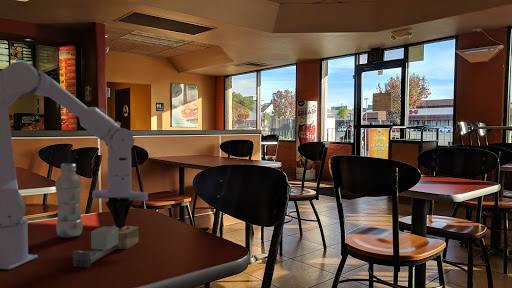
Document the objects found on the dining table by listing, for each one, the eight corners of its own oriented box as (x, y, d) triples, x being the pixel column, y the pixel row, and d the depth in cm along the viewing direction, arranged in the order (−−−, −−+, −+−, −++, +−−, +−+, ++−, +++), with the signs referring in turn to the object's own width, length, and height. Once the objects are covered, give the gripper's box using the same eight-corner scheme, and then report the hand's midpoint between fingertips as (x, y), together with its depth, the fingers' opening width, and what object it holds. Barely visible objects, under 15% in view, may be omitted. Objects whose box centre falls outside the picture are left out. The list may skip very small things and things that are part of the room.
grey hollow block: (101, 247, 96) (101, 231, 96) (114, 240, 102) (114, 225, 102) (126, 249, 95) (126, 233, 95) (138, 241, 101) (138, 226, 101)
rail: (73, 266, 83) (72, 251, 83) (107, 247, 96) (107, 234, 96) (87, 267, 83) (87, 252, 83) (120, 248, 95) (120, 235, 95)
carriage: (91, 248, 90) (90, 231, 90) (103, 242, 95) (103, 225, 95) (106, 249, 89) (106, 232, 89) (118, 243, 94) (118, 226, 94)
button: (111, 243, 98) (111, 228, 97) (118, 240, 100) (118, 225, 100) (122, 244, 97) (122, 229, 97) (128, 241, 100) (128, 226, 100)
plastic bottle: (72, 241, 101) (71, 165, 100) (50, 239, 103) (48, 164, 101) (88, 234, 107) (87, 163, 106) (66, 232, 109) (65, 162, 108)
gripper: (153, 173, 100) (153, 225, 101) (103, 172, 103) (103, 221, 104) (140, 177, 93) (140, 232, 94) (86, 175, 96) (87, 228, 97)
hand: (120, 227), depth 99 cm, fingers closed, pressing on button
